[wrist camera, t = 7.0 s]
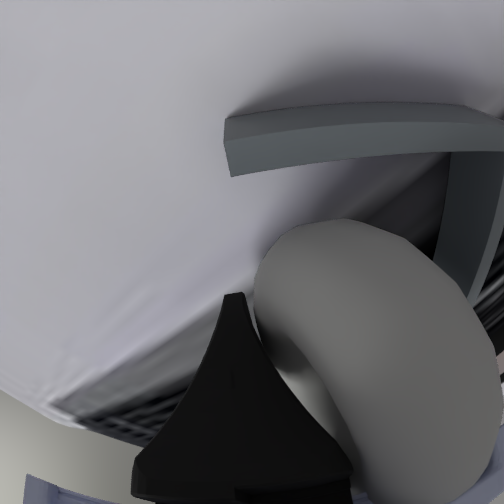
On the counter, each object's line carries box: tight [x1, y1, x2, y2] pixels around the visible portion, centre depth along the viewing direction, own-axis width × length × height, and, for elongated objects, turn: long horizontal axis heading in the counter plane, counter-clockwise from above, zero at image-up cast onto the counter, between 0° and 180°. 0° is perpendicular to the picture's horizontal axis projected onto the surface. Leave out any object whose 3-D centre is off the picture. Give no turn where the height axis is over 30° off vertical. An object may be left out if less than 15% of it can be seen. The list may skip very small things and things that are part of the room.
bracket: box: [223, 102, 504, 308], centre depth 11 cm, size 14×9×3 cm
